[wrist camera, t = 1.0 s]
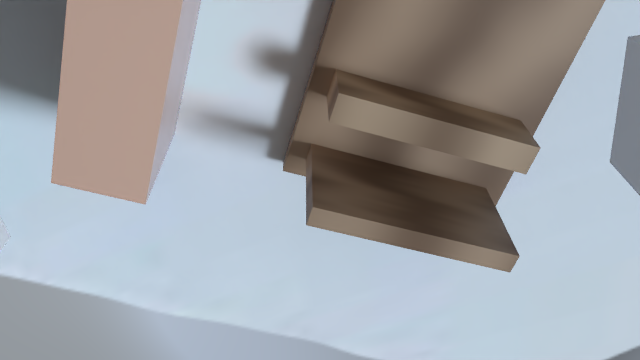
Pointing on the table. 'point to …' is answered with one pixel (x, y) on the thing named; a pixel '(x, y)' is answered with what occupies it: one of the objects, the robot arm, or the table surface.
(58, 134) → the pinkish tan block
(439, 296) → the table surface
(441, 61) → the rack
